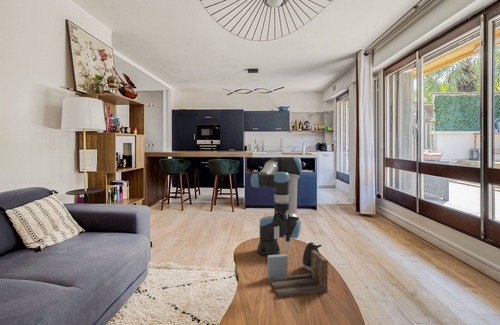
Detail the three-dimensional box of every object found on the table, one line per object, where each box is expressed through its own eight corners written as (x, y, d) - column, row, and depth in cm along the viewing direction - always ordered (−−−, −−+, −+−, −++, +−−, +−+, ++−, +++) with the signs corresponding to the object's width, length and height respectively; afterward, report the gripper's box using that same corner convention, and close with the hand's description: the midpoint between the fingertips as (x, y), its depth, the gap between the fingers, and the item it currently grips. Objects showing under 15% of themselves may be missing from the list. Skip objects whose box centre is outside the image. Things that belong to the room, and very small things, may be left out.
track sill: (270, 282, 134) (270, 253, 134) (314, 278, 139) (314, 249, 138) (278, 297, 120) (278, 265, 120) (327, 291, 125) (327, 260, 125)
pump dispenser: (321, 274, 143) (322, 246, 143) (302, 272, 145) (302, 245, 145) (320, 266, 153) (320, 240, 153) (302, 264, 155) (302, 239, 155)
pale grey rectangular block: (267, 277, 140) (267, 255, 139) (285, 275, 142) (285, 253, 141) (269, 280, 137) (268, 257, 136) (287, 278, 139) (287, 256, 138)
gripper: (266, 198, 148) (266, 235, 149) (284, 207, 124) (284, 252, 125) (279, 197, 150) (279, 234, 151) (299, 206, 126) (299, 250, 127)
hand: (281, 242), depth 138 cm, fingers open, 13 cm apart
